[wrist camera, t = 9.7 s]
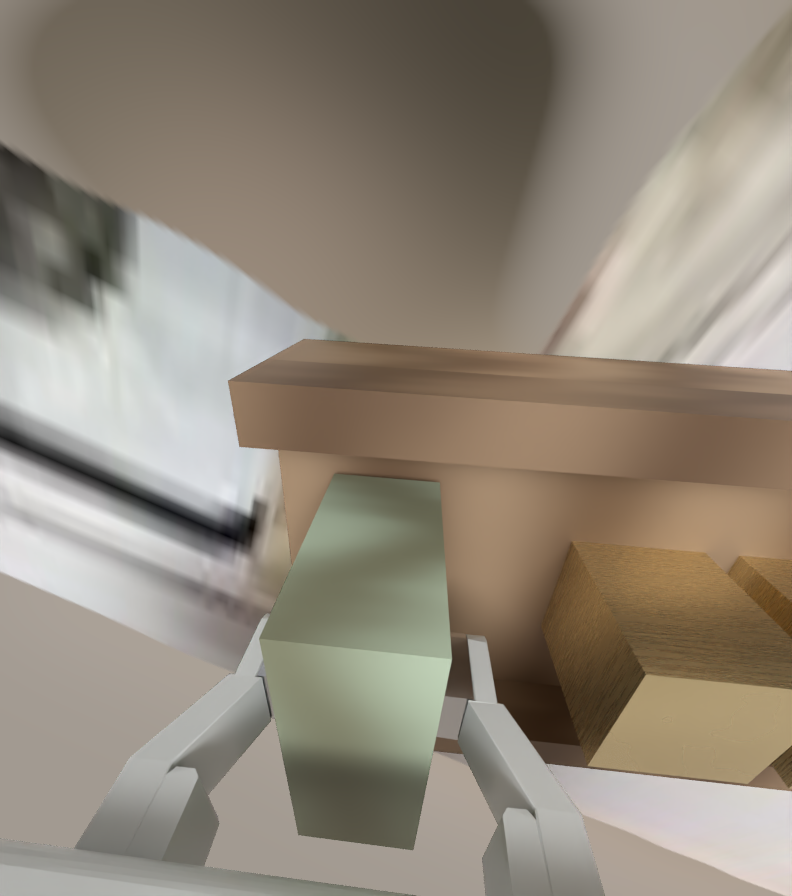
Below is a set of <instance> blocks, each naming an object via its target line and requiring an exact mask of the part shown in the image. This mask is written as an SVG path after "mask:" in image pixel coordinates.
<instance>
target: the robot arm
mask: <svg viewBox="0 0 792 896" xmlns="http://www.w3.org/2000/svg"><path fill="white" fill-rule="evenodd" d="M269 616H270V614H267V613H266V614H265V615H264V616H263V618H262V619H261V620H260V622H259V625H258V627H257V629H256V631H255V633H254V635H253V637H252V639H251V641H250V643H249V645H248V648H247V650H246V652H245V654H244V656H243V658H242V660H241V662H240V664H239V666H238V668H237V671H236V673H235V674H228V675H227V676H226V677H225V678H224V679H222V680H221V681H220V682H219V683H217V684H216V685H215V686H214V687H213V688H212V689H210V690H209V691H208V692H207V693H206V694H204V695H203V696H202V697H201V698H200V699H199V700H197V701H196V702H195V703H194V704H193V705H191V706H190V707H189V708H188V709H187V710H186V711H184V712H183V713H182V714H181V715H180V716H179V717H177V718H176V719H175V720H174V721H173V722H171V723H170V724H169V725H168V726H167V727H166V728H164V729H163V730H162V731H161V732H160V733H158V734H157V735H156V736H155V737H154V738H153V739H151V740H150V741H149V742H148V743H147V744H145V745H144V746H143V747H142V748H141V749H140V750H138V751H137V752H136V753H135V754H134V755H133V756H131V757H130V758H129V760H128V762H127V763H126V765H125V766H124V768H123V770H122V771H121V773H120V775H119V776H118V778H117V779H116V781H115V783H114V784H113V786H112V788H111V790H110V791H109V793H108V794H107V796H106V798H105V799H104V801H103V803H102V804H101V806H100V807H99V809H98V810H97V812H96V814H95V815H94V817H93V819H92V820H91V822H90V823H89V825H88V827H87V829H86V830H85V832H84V833H83V835H82V837H81V838H80V840H79V841H78V843H77V845H76V846H75V848H74V849H73V848H66V847H58V846H52V845H45V844H37V843H30V842H23V841H15V840H8V839H1V838H0V896H416V895H408V894H401V893H394V892H387V891H379V890H372V889H365V888H358V887H350V886H343V885H336V884H328V883H321V882H313V881H307V880H299V879H292V878H284V877H277V876H270V875H263V874H256V873H248V872H241V871H234V870H227V869H219V868H212V867H205V866H204V865H205V862H206V859H207V857H208V854H209V851H210V848H211V846H212V843H213V840H214V837H215V835H216V831H217V829H218V826H219V821H218V816H217V814H216V812H215V810H214V807H213V805H212V803H211V801H210V799H209V797H208V795H209V793H210V792H211V791H212V790H213V789H214V787H215V786H216V785H217V784H218V783H219V782H220V780H221V779H222V778H223V777H224V776H225V775H226V773H227V772H228V771H229V770H230V769H231V767H232V766H233V765H234V764H235V763H236V762H237V760H238V759H239V758H240V757H241V756H242V754H243V753H244V752H245V751H246V750H247V748H248V747H249V746H250V745H251V744H252V743H253V741H254V740H255V739H256V738H257V737H258V736H259V734H260V733H261V732H262V731H263V730H264V728H265V727H266V726H267V725H268V724H269V722H270V721H271V718H274V719H275V716H274V711H273V706H272V701H271V696H270V691H269V686H268V681H267V676H266V671H265V666H264V661H263V656H262V651H261V646H260V641H259V638H260V635H261V633H262V631H263V629H264V627H265V624H266V622H267V620H268V618H269ZM450 638H451V653H452V662H451V667H450V672H449V676H448V681H447V686H446V691H445V696H444V701H443V706H442V711H441V716H440V721H439V726H438V731H437V736H436V737H441V738H447V739H454V740H458V744H459V746H460V748H461V750H462V752H463V754H464V756H465V758H466V760H467V762H468V765H469V767H470V769H471V770H472V773H473V775H474V777H475V779H476V781H477V783H478V785H479V787H480V789H481V791H482V793H483V795H484V797H485V799H486V801H487V803H488V805H489V807H490V809H491V811H492V813H493V815H494V818H495V820H496V822H497V824H498V826H497V829H496V831H495V833H494V835H493V837H492V839H491V841H490V843H489V845H488V847H487V850H486V851H485V853H484V855H483V857H482V862H483V873H484V884H485V894H486V896H605V894H604V890H603V887H602V884H601V880H600V877H599V873H598V870H597V866H596V863H595V859H594V856H593V852H592V849H591V845H590V842H589V838H588V835H587V831H586V828H585V825H584V821H583V818H582V815H581V813H580V812H579V810H578V809H577V808H576V806H575V805H574V803H573V802H572V800H571V799H570V798H569V796H568V795H567V793H566V792H565V791H564V789H563V788H562V786H561V785H560V783H559V782H558V781H557V779H556V778H555V776H554V775H553V774H552V772H551V771H550V769H549V768H548V767H547V765H546V764H545V762H544V761H543V759H542V758H541V757H540V755H539V754H538V752H537V751H536V750H535V748H534V747H533V745H532V744H531V742H530V741H529V740H528V738H527V737H526V735H525V734H524V733H523V731H522V730H521V728H520V727H519V725H518V724H517V723H516V721H515V720H514V718H513V717H512V716H511V714H510V713H509V711H508V710H507V708H506V707H505V706H504V704H500V703H497V698H496V692H495V686H494V680H493V674H492V668H491V662H490V657H489V651H488V645H487V640H486V638H485V636H481V635H469V634H465V633H453V632H450Z"/></svg>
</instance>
